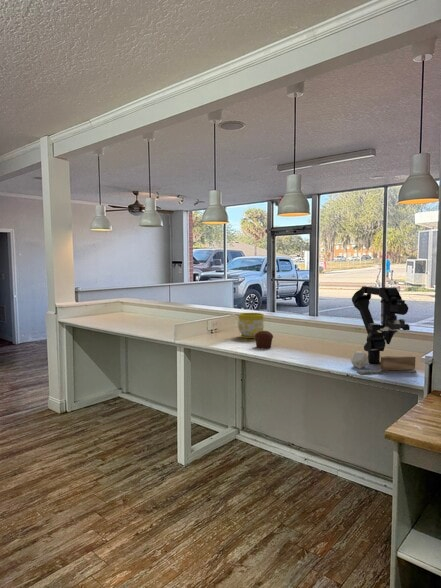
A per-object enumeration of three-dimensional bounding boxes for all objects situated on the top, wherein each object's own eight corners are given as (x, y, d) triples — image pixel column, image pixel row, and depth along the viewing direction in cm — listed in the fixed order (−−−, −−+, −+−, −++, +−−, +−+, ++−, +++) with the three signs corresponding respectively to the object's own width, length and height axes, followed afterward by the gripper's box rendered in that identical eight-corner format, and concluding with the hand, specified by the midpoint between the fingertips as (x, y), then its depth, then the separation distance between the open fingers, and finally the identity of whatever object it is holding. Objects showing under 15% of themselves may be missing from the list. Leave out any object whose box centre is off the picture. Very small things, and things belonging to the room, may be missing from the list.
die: (350, 370, 202) (361, 356, 197) (344, 358, 209) (355, 344, 204) (363, 374, 204) (375, 361, 200) (357, 362, 211) (368, 349, 207)
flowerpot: (232, 336, 290) (232, 313, 289) (251, 334, 302) (251, 312, 300) (250, 340, 276) (250, 316, 275) (269, 337, 288) (269, 314, 287)
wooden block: (380, 368, 196) (380, 356, 196) (411, 367, 198) (411, 355, 198) (383, 370, 193) (384, 357, 193) (415, 369, 195) (415, 356, 195)
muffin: (252, 348, 251) (253, 332, 250) (255, 345, 261) (255, 329, 261) (272, 349, 248) (272, 332, 247) (274, 345, 258) (274, 330, 258)
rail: (356, 372, 195) (356, 370, 195) (411, 370, 199) (411, 368, 199) (361, 374, 191) (361, 372, 191) (416, 372, 195) (416, 370, 195)
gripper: (377, 314, 193) (376, 347, 194) (416, 314, 194) (415, 347, 195) (367, 312, 204) (367, 343, 205) (404, 311, 205) (403, 342, 206)
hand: (388, 344), depth 202 cm, fingers closed
